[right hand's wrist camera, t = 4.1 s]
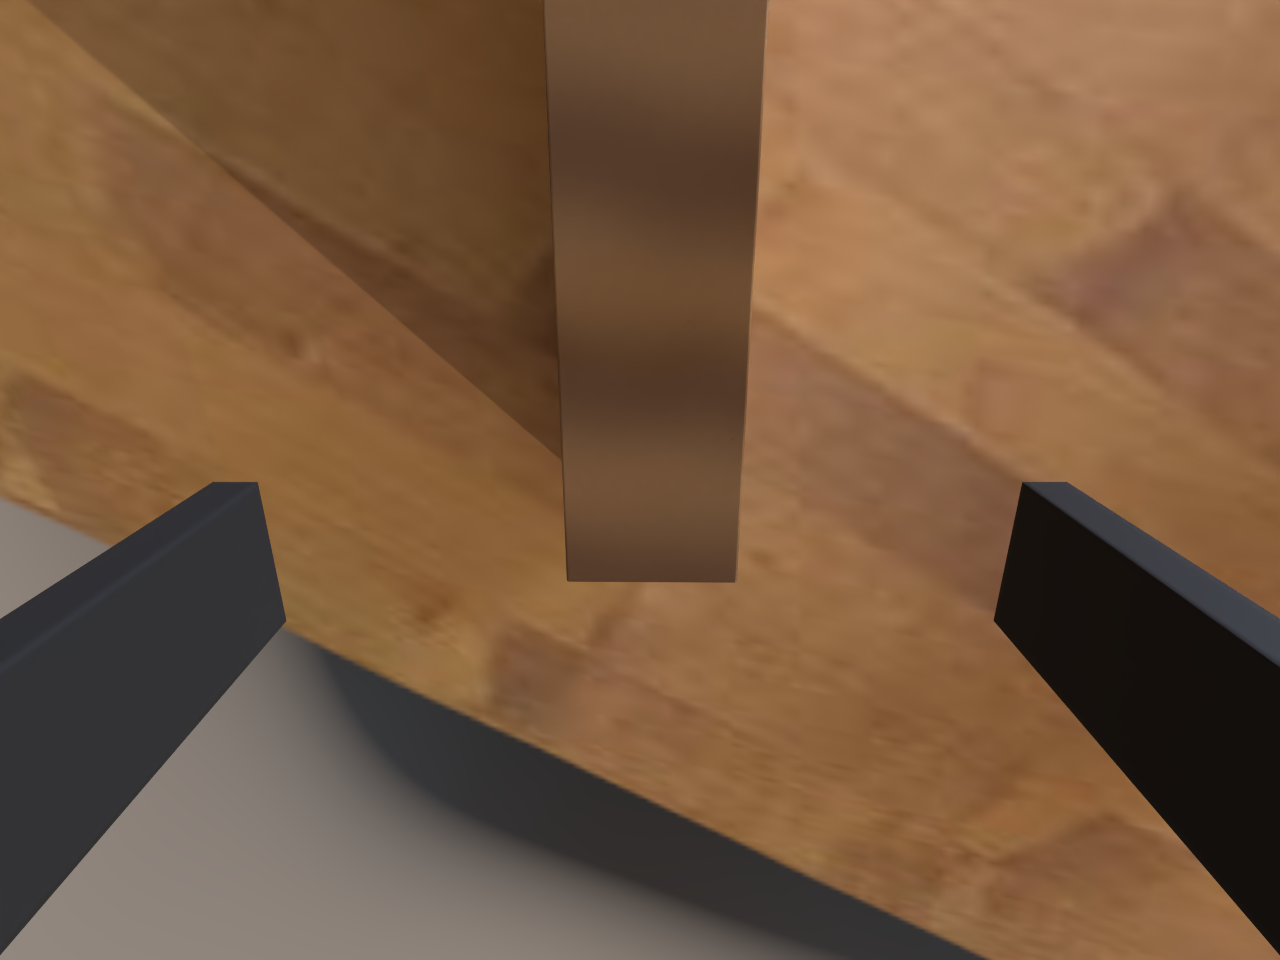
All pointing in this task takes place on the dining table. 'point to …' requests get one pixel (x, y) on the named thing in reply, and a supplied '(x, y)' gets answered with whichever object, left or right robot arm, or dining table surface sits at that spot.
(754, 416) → the dining table surface
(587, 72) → the post
